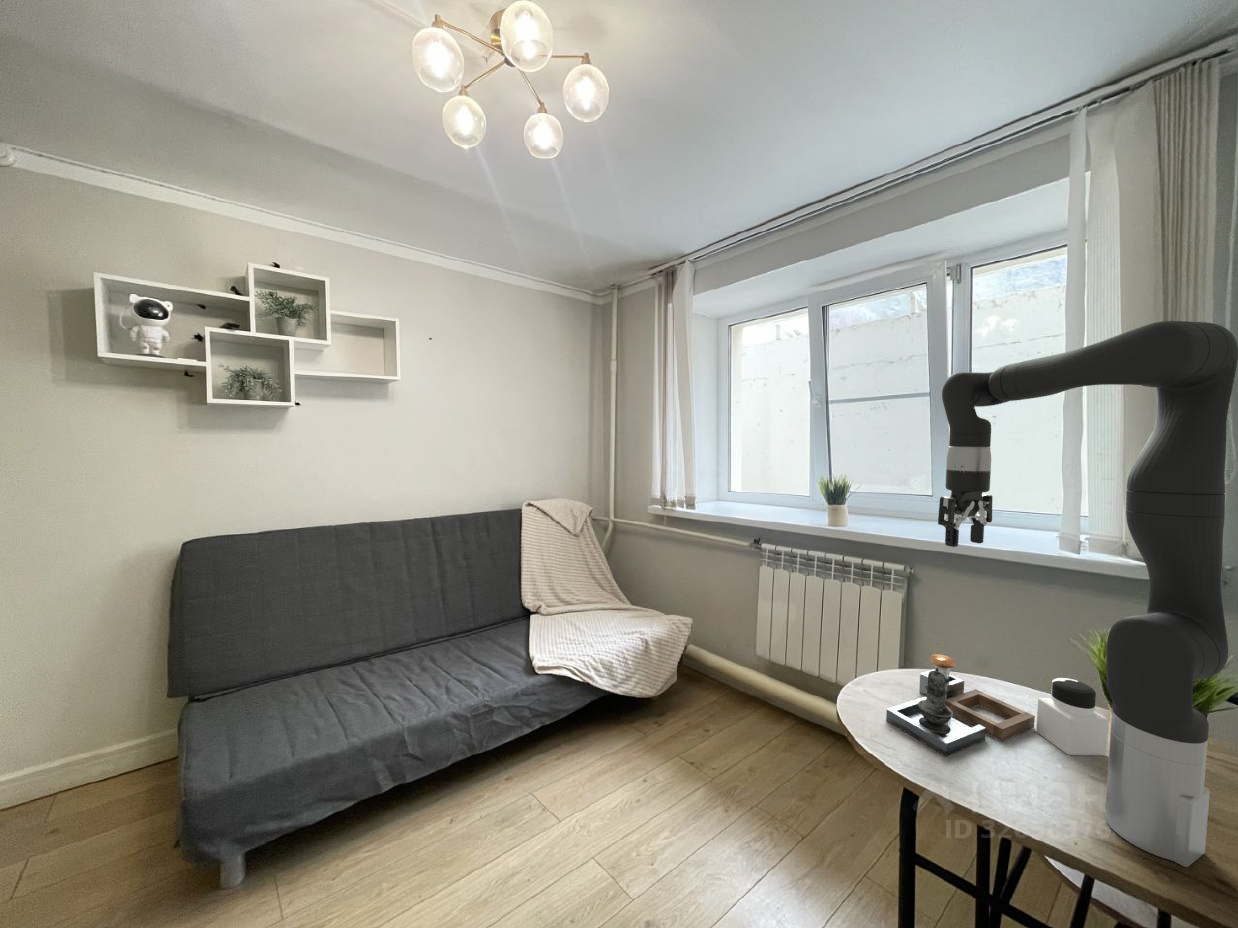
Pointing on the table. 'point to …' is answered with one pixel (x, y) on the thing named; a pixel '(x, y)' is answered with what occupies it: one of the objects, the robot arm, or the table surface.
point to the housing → (952, 687)
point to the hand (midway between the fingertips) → (964, 544)
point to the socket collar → (1002, 731)
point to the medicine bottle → (1072, 719)
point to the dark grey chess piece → (935, 704)
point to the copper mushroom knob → (943, 664)
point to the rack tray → (945, 743)
